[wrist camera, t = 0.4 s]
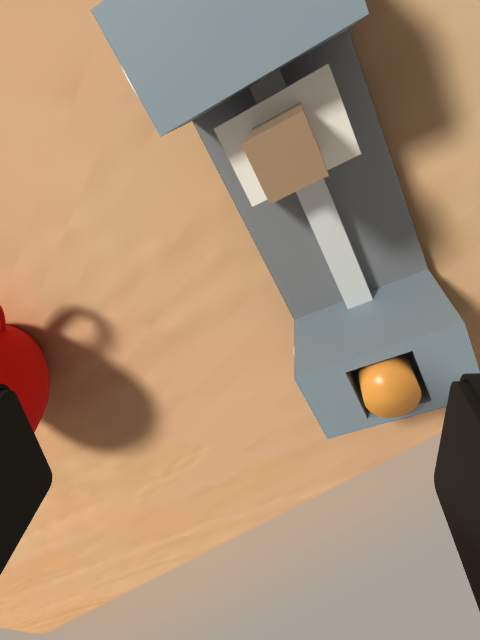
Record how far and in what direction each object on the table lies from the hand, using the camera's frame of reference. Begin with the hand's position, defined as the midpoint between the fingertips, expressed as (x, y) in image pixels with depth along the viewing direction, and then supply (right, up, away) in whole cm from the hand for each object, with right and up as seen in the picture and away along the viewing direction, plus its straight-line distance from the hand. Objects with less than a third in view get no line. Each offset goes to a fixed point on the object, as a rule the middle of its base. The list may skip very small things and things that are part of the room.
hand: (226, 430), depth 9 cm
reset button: (+10, -1, +21) cm, 23 cm away
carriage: (+3, +15, +19) cm, 24 cm away
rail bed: (+6, +12, +23) cm, 26 cm away
